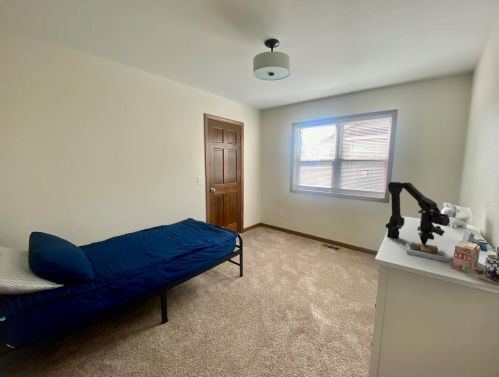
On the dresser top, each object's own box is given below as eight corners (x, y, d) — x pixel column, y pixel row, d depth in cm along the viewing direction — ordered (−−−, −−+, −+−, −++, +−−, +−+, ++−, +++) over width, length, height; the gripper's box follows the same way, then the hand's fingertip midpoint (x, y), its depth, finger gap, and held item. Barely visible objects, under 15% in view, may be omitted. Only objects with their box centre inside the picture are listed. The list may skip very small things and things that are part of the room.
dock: (406, 253, 123) (407, 250, 123) (405, 246, 134) (405, 243, 134) (448, 261, 113) (448, 258, 113) (443, 253, 124) (443, 250, 124)
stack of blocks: (462, 258, 118) (465, 237, 117) (478, 262, 113) (481, 240, 112) (451, 268, 106) (455, 244, 105) (469, 273, 101) (473, 249, 99)
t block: (412, 252, 124) (413, 247, 123) (411, 246, 134) (411, 241, 133) (439, 258, 117) (440, 253, 117) (436, 251, 127) (436, 246, 127)
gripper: (447, 227, 117) (444, 254, 119) (441, 220, 132) (438, 244, 134) (421, 224, 123) (418, 249, 125) (418, 217, 138) (416, 240, 140)
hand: (423, 245), depth 131 cm, fingers closed
